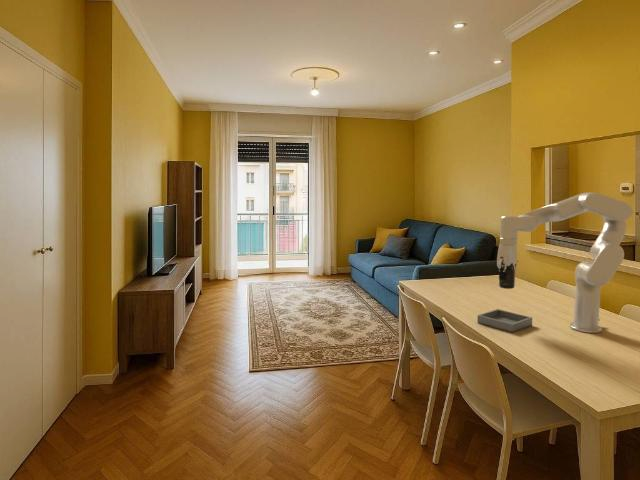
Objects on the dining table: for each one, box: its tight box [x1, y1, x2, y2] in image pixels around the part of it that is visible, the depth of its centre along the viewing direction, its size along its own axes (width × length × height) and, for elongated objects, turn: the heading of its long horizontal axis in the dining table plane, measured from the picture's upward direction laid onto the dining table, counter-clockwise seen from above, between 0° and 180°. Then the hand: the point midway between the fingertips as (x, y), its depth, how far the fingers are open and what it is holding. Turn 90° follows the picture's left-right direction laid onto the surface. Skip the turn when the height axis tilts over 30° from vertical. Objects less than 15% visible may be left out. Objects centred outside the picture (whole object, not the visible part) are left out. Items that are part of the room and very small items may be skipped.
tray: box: [476, 308, 533, 334], centre depth 195 cm, size 17×18×4 cm
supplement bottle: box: [498, 263, 516, 290], centre depth 192 cm, size 7×7×12 cm
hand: (506, 278), depth 193 cm, fingers closed on supplement bottle, 6 cm apart
